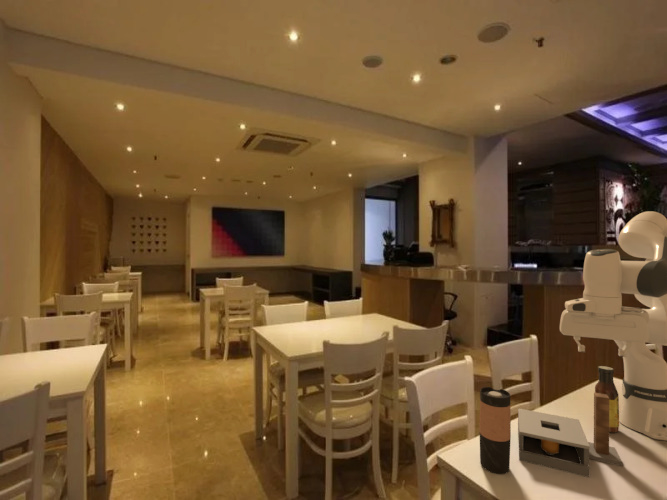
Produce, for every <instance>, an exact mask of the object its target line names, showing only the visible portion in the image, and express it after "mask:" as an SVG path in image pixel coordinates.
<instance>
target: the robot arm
mask: <svg viewBox="0 0 667 500" xmlns="http://www.w3.org/2000/svg"><path fill="white" fill-rule="evenodd" d="M617 242H618V244H619V247H620V248H621V249H622V251H623V252H625V253H626V254H627V255H629V256H632V257H634V258H640V259H641V258H642V259H645V260H621V255H620V252H619V251H618V250H616V249H612V248H599V249H592V250H589V251H587V252H586V254H585V257H584V262H583V271H582V272H583V273H582V280H583V283H584V290H583V292H582V297H581V298H577V299H570V300H566V301H565V302H564V308H565V309H564V310H563V311H562V312H561V315H560V321H559V332H560V333H561V334H562V335H563V336H572V337H573V340H574V341H575V342H576V345H577V351H578V352H579V353H586V345H584V344H581V342H580V341H581V337H582V338H592V339H599V340H600V339H602V340H613V341H614V343H615V344H616V346H617V347H618V349H617V350H618V353H617V355H618V356H619V357H622V360H623V371H624V372H623V373H624V377H623V379H622V383H621V386H622V387H621V392H622V394H621V395H622V397H623V398H622V404H621V409H620V410H619V423H620V424H622V425H623V426H625V427H626V428H628V429H630V430H632V431H633V430H634V431H635V432H639V433H641V434H643V435H645V436H647V437H648V438H651V439H653V440H657V441H658V440H660V441H667V361H665V359H664V358H663V357H661V356H660V355H658V354H657V353H655V352H653V351H651V350H650V349H649V348H648V347H647V344H646V343H648V344H652V345H653V344H655V345H660V346H666V347H667V218H666V217H665V215H663V214H662V213H660V212H657V211H652V210H651V211H642V212H641V213H639V214H637V215H635V216H633V217H632V218H631V219H630V220H629V221H628V222H627V223H626V224H625V225H624V227H623V228H622V229H621V230H620V232H619V235H618V240H617ZM623 294H628V295H634V297H635V299H636V300H637V301H639V302H640V303H641V304H642V305H643V306H646V307H648V308H641V307H631V306H623V304H622V303H623V301H622V300H623V298H622V297H623V296H622V295H623Z"/></svg>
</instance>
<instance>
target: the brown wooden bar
mask: <svg viewBox="0 0 667 500" xmlns="http://www.w3.org/2000/svg"><path fill="white" fill-rule="evenodd" d="M593 443H594V449H595V452H596V453H601V454H605V455H609V446H610V432H609V397H608V396H607V394H601V393H595V392H593Z"/></svg>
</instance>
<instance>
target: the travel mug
mask: <svg viewBox="0 0 667 500" xmlns="http://www.w3.org/2000/svg"><path fill="white" fill-rule="evenodd" d="M511 425H512V424H511V394H510V392H509V391H507V390H505V389H504V388H503V389H502V388H500V389H495V388H492V387H491V386H485V387H482V388H480V390H479V429H478V431H479V457H480V458H479V459H480V462H479V463H480V465H481V466H482V468H483V469H484V470H486V471H487V472H489V471H490V473H492V474H495V473H496V474H497V475H505V474H508V472H509V471H510V462H511V461H510V460H511V436H512V435H511Z"/></svg>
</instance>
